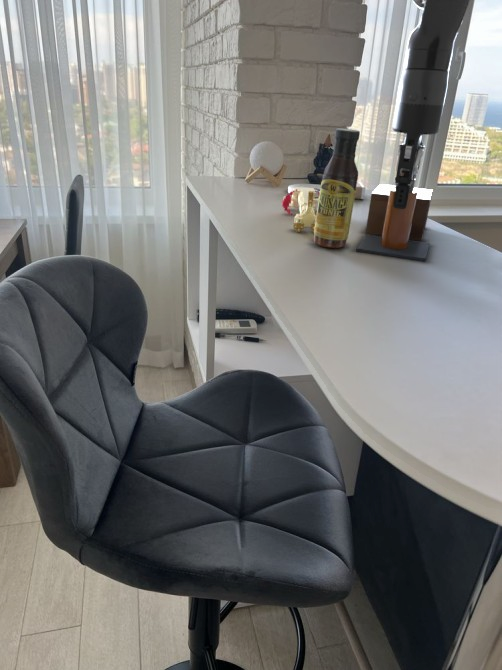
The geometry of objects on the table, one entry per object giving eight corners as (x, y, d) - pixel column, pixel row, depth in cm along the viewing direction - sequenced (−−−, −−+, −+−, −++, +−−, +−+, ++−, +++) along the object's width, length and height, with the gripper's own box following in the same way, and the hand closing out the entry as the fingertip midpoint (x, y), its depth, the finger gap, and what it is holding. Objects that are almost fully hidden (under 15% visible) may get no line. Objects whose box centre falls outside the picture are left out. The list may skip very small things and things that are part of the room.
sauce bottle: (307, 245, 92) (320, 128, 83) (319, 238, 97) (332, 126, 88) (342, 252, 89) (358, 131, 81) (352, 244, 94) (369, 130, 86)
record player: (366, 188, 131) (289, 184, 131) (364, 200, 132) (288, 196, 133) (359, 180, 141) (288, 177, 142) (358, 192, 143) (287, 188, 143)
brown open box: (425, 227, 109) (432, 189, 105) (421, 241, 99) (430, 199, 95) (373, 221, 112) (379, 184, 109) (365, 233, 102) (371, 193, 98)
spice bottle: (408, 244, 94) (421, 178, 89) (406, 250, 90) (419, 181, 85) (382, 240, 96) (393, 175, 90) (378, 246, 92) (390, 178, 86)
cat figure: (331, 239, 101) (322, 203, 122) (337, 196, 96) (326, 166, 118) (281, 236, 101) (281, 200, 122) (285, 193, 96) (284, 163, 118)
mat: (428, 245, 96) (429, 243, 96) (425, 261, 87) (425, 258, 87) (365, 236, 100) (366, 234, 100) (356, 251, 90) (356, 248, 90)
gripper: (442, 103, 75) (420, 215, 83) (445, 102, 87) (425, 200, 95) (391, 100, 77) (374, 209, 85) (401, 100, 90) (385, 195, 97)
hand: (401, 204), depth 90 cm, fingers open, 6 cm apart
